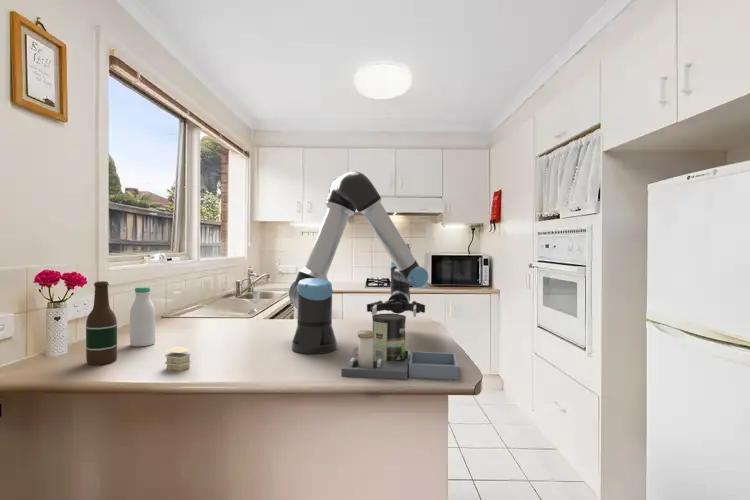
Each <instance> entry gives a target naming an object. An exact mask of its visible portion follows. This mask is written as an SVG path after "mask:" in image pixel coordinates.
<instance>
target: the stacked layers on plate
mask: <svg viewBox="0 0 750 500" xmlns="http://www.w3.org/2000/svg"><path fill="white" fill-rule="evenodd" d="M188 351H192V349H191V348H188V347H185V346H173V347H171V348H168V349H165V352H166V353H167V352H168V353H167V354H165V355H164V357H165V358H166V360H165V362H164V364H165V365H166V369H167V370H168V371H169V370H172V371H173V370H174V371H179V372H180V371H184V370H187V369H190V368H191V366H190V365H191V364H190V363H192V360H191V359H190V358H191V357H190V356H192V353H190V352H188Z"/></svg>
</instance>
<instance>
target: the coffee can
mask: <svg viewBox="0 0 750 500" xmlns="http://www.w3.org/2000/svg"><path fill="white" fill-rule="evenodd" d="M371 318H372V331H373V332H374V360H379V359H382V361H400V362H406V357H405V350H406V320H407V319H406V318H407V316H406V315H403V314H401V313H400V314H397V313H378V314H377V313H376V315H373V316H372V317H371Z"/></svg>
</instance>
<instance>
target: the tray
mask: <svg viewBox="0 0 750 500" xmlns="http://www.w3.org/2000/svg"><path fill="white" fill-rule="evenodd" d="M410 351H411V350H410ZM408 378H413V379H414V378H415V379H417V378H418V379H436V380H437V379H439V380H452V379H455V381H457V380H459V364H458V360H457V355H456V353H455V352H454V353H452V352H435V351H434V352H430V351H411V355H410V361H409V370H408Z"/></svg>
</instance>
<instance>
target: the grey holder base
mask: <svg viewBox="0 0 750 500" xmlns="http://www.w3.org/2000/svg"><path fill="white" fill-rule="evenodd" d="M410 355H411V350H410V349H408V350H406V349H405V358H407V361H405V362H400V361H382V359H379V360H374V362H373V369H371V368H358V347H357V348H356V347H355V348H354V349H353V351H352V353H351V354H350V355H349V357H348V358H347V359H346V361H345V363H344V364H343V365H342V367H341V372H340V376H341V377H353V378H354V377H355V378H377V379H392V380H393V379H395V380H408V377H409V361H410Z"/></svg>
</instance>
